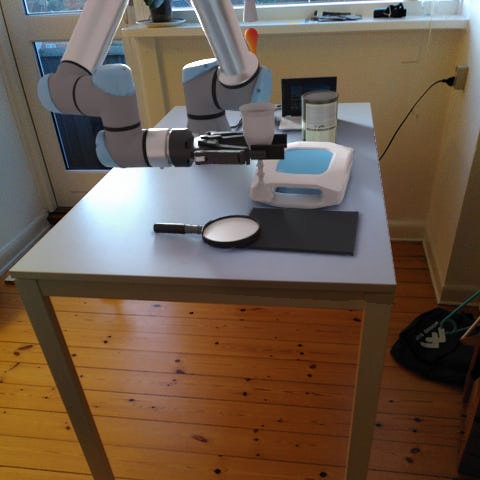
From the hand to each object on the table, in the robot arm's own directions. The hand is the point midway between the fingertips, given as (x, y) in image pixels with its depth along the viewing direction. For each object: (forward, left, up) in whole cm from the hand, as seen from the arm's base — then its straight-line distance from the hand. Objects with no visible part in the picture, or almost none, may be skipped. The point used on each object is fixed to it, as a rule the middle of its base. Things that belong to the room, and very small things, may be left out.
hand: (285, 146), depth 101 cm
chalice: (+1, -5, -11) cm, 12 cm away
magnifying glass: (+7, -16, -17) cm, 25 cm away
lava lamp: (-83, -25, -18) cm, 88 cm away
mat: (+2, +3, -17) cm, 18 cm away
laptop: (-72, -5, -18) cm, 74 cm away
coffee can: (-52, +1, -18) cm, 55 cm away
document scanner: (-23, +1, -18) cm, 29 cm away
